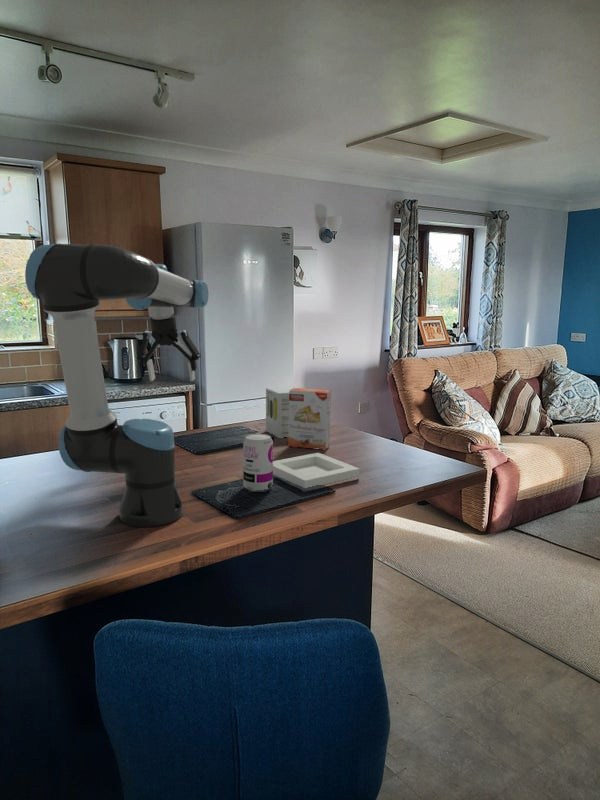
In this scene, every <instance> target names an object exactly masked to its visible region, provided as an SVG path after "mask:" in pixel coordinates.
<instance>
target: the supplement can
mask: <svg viewBox="0 0 600 800" xmlns="http://www.w3.org/2000/svg"><path fill="white" fill-rule="evenodd" d="M243 440H244V441H243V442H242V444H243V445H242V446H243V450H242V451H243V453H242V454H243V455H242V456H243V458H242V459H243V460H242V461H243V464H242V465H243V467H242V469H243V470H242V471H243V472H242V473H243V476H242V477H243V479H242V480H243V484H242V485H243V488H244V487H245V488H247V489H250V490H264V489H268V488H270V487H272V485H273V484H274V477H273V461H274V441H273V439H272V437H271V435H269V434H267V433H266V434H264V433H252V434H248V435H246V436H245V438H244V439H243ZM273 486H274V485H273ZM245 488H244V489H245ZM272 488H273V487H272Z"/></svg>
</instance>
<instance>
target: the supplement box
mask: <svg viewBox="0 0 600 800" xmlns="http://www.w3.org/2000/svg"><path fill="white" fill-rule="evenodd" d="M293 388H300V387H297V386H295V385H292V386H277V387H266V388H265V431H266V432H268V434H271V435H272V434H273V436H274V435H275V436H274V437H276V438H278V439H285V438H284V437H287V438H288V431H289V390H291V389H293Z"/></svg>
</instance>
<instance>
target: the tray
mask: <svg viewBox="0 0 600 800" xmlns="http://www.w3.org/2000/svg"><path fill="white" fill-rule="evenodd" d="M273 475H275V476H278V477H280V478H283V479H285V480H288V481H290V482H292V483H294V484H297V485H299V486H301V487H303V488H308V487H312V486H316V485H328V484H332V483H336V482H340V481H344V480H348V479H352V478H355V477H359V478H360V468H359V467H356V466H354V465H351V464H349V463H346V462H344V461H341V460H339V459H335V458H333V457H331V456H328V455H326V454H322V453H320V452H314V453H308V454H304V455H303V454H302V455H299V456H293V457H289V458H282V459H278V460H273Z"/></svg>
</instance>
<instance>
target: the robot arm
mask: <svg viewBox="0 0 600 800" xmlns="http://www.w3.org/2000/svg"><path fill="white" fill-rule="evenodd" d="M24 273H25V275H24V276H25V277H24V278H25V285H26V287H27V290H28V292H29V293H30V295H31V296H32V297H34V299H37V300H40V301H41V302H42V303H41V304H42V307H43V311H44V312H45V313H47V314H48V315H49V316H50V317H52V320H53V326H54V331H55V337H56V343H57V347H58V352H59V358H60V364H61V369H62V370H61V371H62V374H63V380H64V386H65V392H66V396H67V403H68V407H69V413H70V415H69V416H68V417H67V419H66V420H65V425H64V426H63V427H62V428H61V430H60V432H59V437H58V438H59V439H60V440H58V444H57V445H58V452H59V455H60V458H61V459H62V461H63V463H64V464H65V465H66V466H67V467H68V468H70V469H72V470H74V471H76V470H77V471H80V472H81V471H82V472H85V473H91V472H94V473H111V474H112V473H113V474H124V476H125V477H124V478H125V488H124V492H123V495H122V499H121V502H120V505H119V509H118V510H119V511H118V514H119V520H120V521H121V522H122V523H124V524H125V525H128V526H131V527H138V528H139V527H141V528H144V527H145V528H146V527H147V528H148V527H149V528H150V527H159V526H164V525H168V524H171V523H174V522H175V521H178V520H179V519H180V518H181V517H183V513H184V508H183V507H184V505H183V502H182V499H181V496H180V494H179V490H178V487H177V485H176V479H175V478H176V469H175V468H176V467H175V466H176V465H175V464H176V463H175V461H176V460H175V459H176V458H175V445H176V444H175V443H176V442H175V439H174V438H175V436H174V431H173V428H172V427H171V426H170V425H169V424H168V423H165V422H163V421H160V420H157V419H150V418H133V419H129V420H126V421H125V422H124V423H123V425H122V424H118V419H117V414H116V413H115V412H114V411H113V410H110V408H109V403H108V397H107V391H106V383H105V378H104V371H103V366H102V365H103V364H102V358H101V352H100V351H101V350H100V346H99V339H98V338H99V337H98V333H97V326H96V320H95V311H96V310H97V309H98V308H99V307H100V301H110V300H122V299H125V301H126V304H128V306H129V307H131V308H132V309H134V310H137V311H143V310H146V309H147V310H148V311H147V312H148V316H149V317H150V319H149V322H150V328H151V331H150V330H148V329H146V330H145V331H143V332H142V341H141V344H140V347H139V349H138V350H139V351H138V355H137V360H138V361H142V362H143V365H144V369H145V371H146V372H148V379H149V382H153V381H155V379H156V374H155V370H154V369H155V368H154V363H153V359H151V357H152V355H153V354H154V353H155V351H156V349H158V346H159V345H160V346H161V347H163V346H172V347H174V348H176V349H177V350H178V351H179V352H180V353H181V354H182V355H183V356H184V357H185V358H186V359H187V360H188V361H187V366H188V367H187V368H188V369H187V370H188V374H189V381H190V382H194V380H195V379H196V374H195V371H196V370H197V362H196V361H198V360H199V359H200V358H201V354H200V352H199V350H198V349H197V347H196V346H195V344H194V343H193V341H192V339H191V338H190V336H189V333H188V331H187V329H186V328H185V329H183V330H180V331H178V329H177V323H176V316H175V309H174V307H175V308H193V309H196V308H205V307H206V306H207V304H208V302H209V288H208V287H209V286H208V284H207V282H206V281H204V280H200V279H199V280H198V279H187V278H184V277H182V276H180V275H177V274H175V273H172V272H170V271H168V268H167V266H166V265H165V264H163V263H154V262H153V261H152V260H151V259H149V258H148V257H146V256H143V255H140V254H138V253H136V252H134V251H131V250H128V249H124V248H121V247H117V246H114V245H110V244H101V243H98V244H96V243H95V244H86V243H85V244H84V243H83V244H82V243H80V244H79V243H78V244H77V243H50V244H42V245H39V246H37V247H36V248H34V250H33V251H32V252H30V255H29V257H28V259H27V260H26V266H25V272H24ZM151 337H152V338H153V339H154V342H153V343H152V345H151V347H150V348H149V349H148V351H147V352H146V350H147V347H148V344H149V341H150V339H151ZM178 337H180V338H181V339H182V341H181V340H180V338H178ZM183 343H184V344H183ZM145 353H146V354H145Z"/></svg>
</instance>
